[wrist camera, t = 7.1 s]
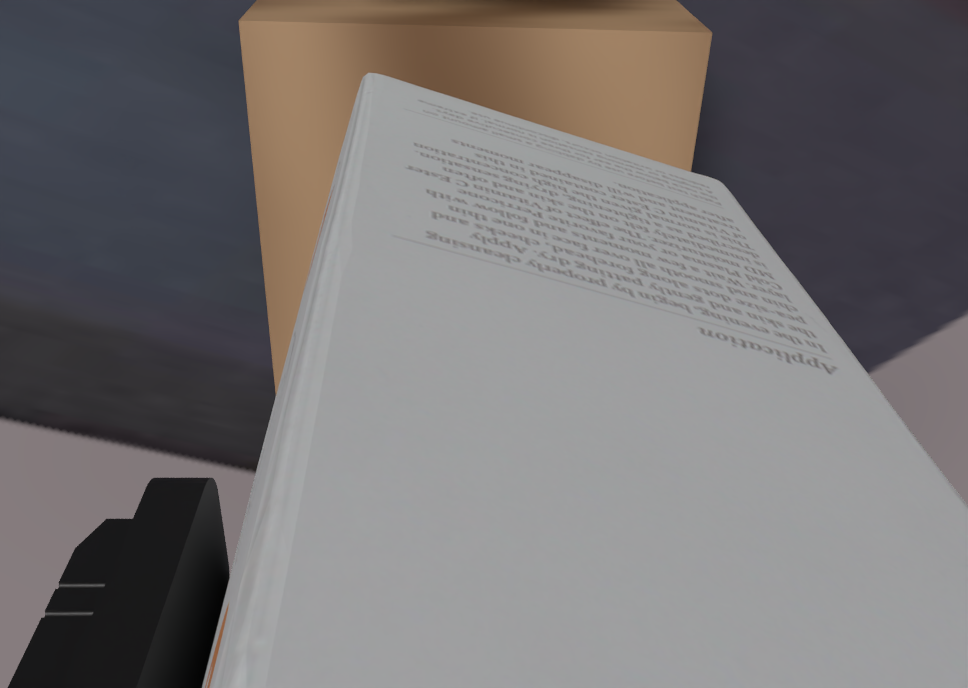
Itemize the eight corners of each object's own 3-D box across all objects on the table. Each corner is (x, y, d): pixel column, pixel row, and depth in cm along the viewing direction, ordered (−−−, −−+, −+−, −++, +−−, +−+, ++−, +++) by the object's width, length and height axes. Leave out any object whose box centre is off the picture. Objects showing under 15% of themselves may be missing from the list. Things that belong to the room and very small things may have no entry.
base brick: (668, -7, 21) (712, 32, 18) (625, 333, 26) (653, 415, 22) (272, -18, 21) (238, 20, 17) (300, 329, 25) (277, 413, 22)
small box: (564, 525, 19) (736, 1537, 8) (261, 457, 18) (-30, 1537, 7) (735, 171, 15) (1516, 1171, 4) (364, 54, 14) (82, 1021, 3)
